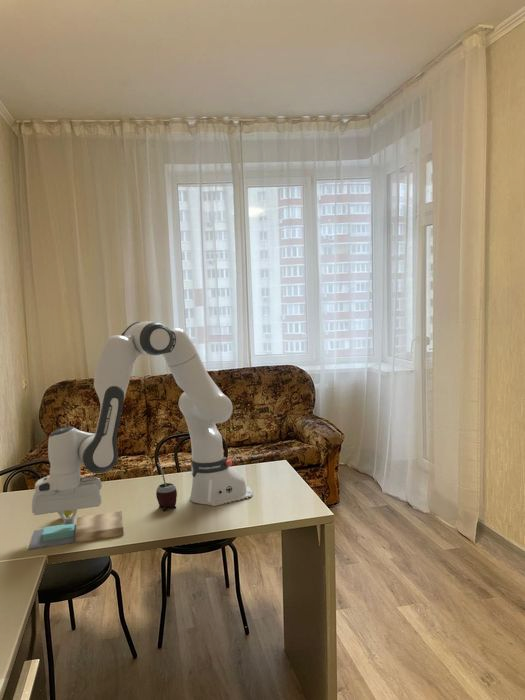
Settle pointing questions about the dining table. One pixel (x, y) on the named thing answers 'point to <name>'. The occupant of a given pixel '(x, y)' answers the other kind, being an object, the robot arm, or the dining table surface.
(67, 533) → the turquoise sponge
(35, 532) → the mat
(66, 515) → the lemon
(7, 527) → the dining table surface
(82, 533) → the deck
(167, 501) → the mate gourd
